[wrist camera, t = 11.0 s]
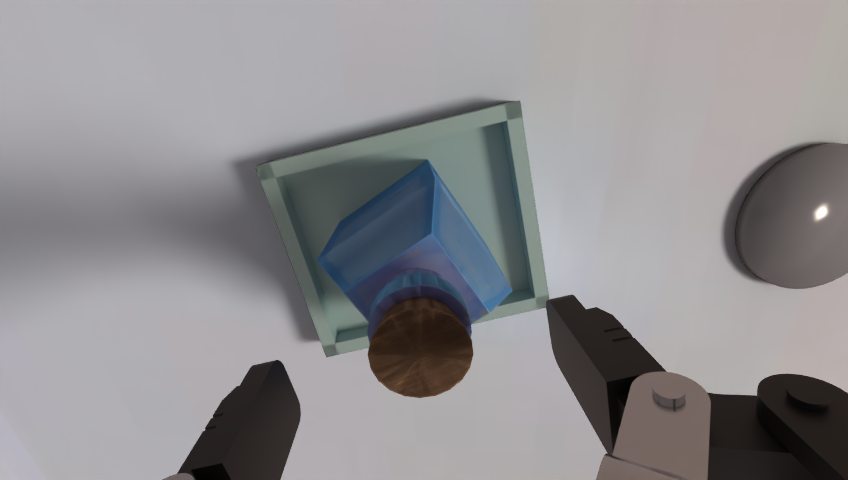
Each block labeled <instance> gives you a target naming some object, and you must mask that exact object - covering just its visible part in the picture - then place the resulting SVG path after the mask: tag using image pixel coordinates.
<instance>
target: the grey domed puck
mask: <svg viewBox="0 0 848 480" xmlns="http://www.w3.org/2000/svg"><path fill="white" fill-rule="evenodd" d="M735 236H736V246H737V251H738V253H739V256H740V258H741V260H742V262H743V263H744V265H745V266H746V267H747V268H748V269H749V270H750V271H751V272H752V273H753V274H754V275H756V276H758V277H760V278H761V279H763V280H765V281H767V282H770V283H772V284H774V285H777V286H780V287H784V288H791V289H803V288H811V287H816V286H819V285H823V284H826V283H828V282H831V281H833V280H835V279H837V278H839V277H841V276H843V275H845V274H846V273H848V144H839V143H824V144H818V145H813V146H810V147H807V148H803V149H801V150H799V151H796V152H794V153H792V154H790V155H789V156H787V157H785V158H783V159H782V160H781V161H779V162H778V163H776V164H775V165H774V166H773V167H771V168H770V169H769V170H768V171H767V172H766V173H765V174H764V175H763V176H762V177H761V178H760V179H759V180H758V181H757V183H756V184H755V185H754V186H753V188H752V189H751V191H750V192H749V194H748V195H747V197H746V199H745V201H744V203H743V205H742V207H741V210H740V213H739V215H738V220H737V224H736V233H735Z"/></svg>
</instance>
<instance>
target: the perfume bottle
mask: <svg viewBox="0 0 848 480" xmlns="http://www.w3.org/2000/svg"><path fill="white" fill-rule="evenodd" d="M317 263H318V264H319V265H320V266H321V267H322V268H323V270H324V271H325V272H326V273H327V274H328V276H329V277H330V278H331V279H332V280H333V281H334V283H335V284H336V285H337V286H338V287H339V288H340V290H341V291H342V292H343V293H344V294H345V295H346V297H347V298H348V299H349V300H350V301H351V302H352V304H353V305H354V306H355V307H356V308H357V309H358V311H359V312H360V313H361V314H362V315H363V316H364V318H365V319H366V320H367V321H368V322H369V324H368V330H367V335H368V339H369V344H370V345H369V351H368V358H369V362H370V367H371V370H372V371H373V373H374V374H375V376H376V378H377V379H378V381H379V382H381V383H382V384H383V385H384V386H386V387H387V388H388V389H389V390H391V391H393V392H396V393H398V394H401V395H403V396H409V397H417V398H422V397H429V396H436V395H438V394H441V393H443V392H445V391H448V390H450V389H451V388H452V387H454V386H455V385H456V384H457V383H459V382H460V381H461V380H462V379H463V377H464V376H465V374H466V373H467V371H468V370H469V368H470V365H471V361H472V357H473V348H472V340H471V338H470V337H471V333H472V331H471V324H473V323H475V322H476V321H478V320H479V319H481V318H483V317H484V316H486V315H488V314H489V313H490V312H491V311H492V310H493V309H494V308H496V307H497V306H498V305H499V304H500V303H501V302H502V301H503V300H504V299H505V298H506V297H507V296H508V295H509V294H510V293H511V292H512V291H513V290H512V289H511V287H510V285H509V283H508V282H507V280H506V278H505V276H504V275H503V273H502V271H501V269H500V268H499V266H498V264H497V262H496V261H495V259H494V257H493V255H492V254H491V252H490V250H489V248H488V247H487V245H486V243H485V242H484V241H483V239H482V238H481V236H480V235H479V233H478V232H477V230H476V229H475V227H474V226H473V224H472V223H471V222H470V220H469V219H468V217H467V216H466V214H465V213H464V211H463V210H462V208H461V207H460V205H459V204H458V203H457V201H456V200H455V198H454V197H453V195H452V194H451V192H450V191H449V189H448V188H447V186H446V185H445V184H444V182H443V181H442V179H441V178H440V176H439V175H438V173H437V172H436V170H435V169H434V167H433V166H432V165H431V163H430V162H429V160H426V161H425V162H423V163H422V164H421V165H419V166H418V167H416V168H415V169H414V170H412V171H411V172H409V173H408V174H406V175H405V176H404V177H402V178H401V179H399V180H398V181H397V182H395V183H394V184H392V185H391V186H390V187H388V188H387V189H385V190H384V191H382V192H381V193H380V194H378V195H377V196H375V197H374V198H373V199H371V200H370V201H368V202H367V203H366V204H364V205H363V206H361V207H360V208H358V209H357V210H356V211H354V212H353V213H351V214H350V215H349V216H347V217H346V218H344V219H343V220H341V221H340V222H339V224H338V226H337V227H336V229H335V231H334V232H333V234H332V236H331V237H330V239H329V241H328V242H327V244H326V246H325V247H324V249H323V251H322V252H321V254H320V256H319V258H318V259H317Z"/></svg>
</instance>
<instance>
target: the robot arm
mask: <svg viewBox="0 0 848 480" xmlns="http://www.w3.org/2000/svg"><path fill="white" fill-rule="evenodd" d="M546 309H547V316H548V323H549V330H550V337H551V344H552V349H553V353H554V356H555V359H556V362H557V364H558V366H559V368H560V370H561V372H562V373H563V375H564V377H565V379H566V380H567V382H568V384H569V386H570V387H571V389H572V391H573V393H574V395H575V396H576V398H577V400H578V402H579V403H580V405H581V407H582V409H583V410H584V412H585V414H586V416H587V418H588V419H589V421H590V423H591V425H592V426H593V428H594V430H595V432H596V433H597V435H598V437H599V439H600V441H601V442H602V444H603V446H604V448H605V449H606V451H607V453H608V454H605V455H604V457H603V459H602V461H601V465H600V468H599V471H598V475H597V478H596V480H848V393H846V392H845V391H843V390H842V389H840V388H838V387H836V386H834V385H832V384H830V383H827V382H825V381H822V380H819V379H816V378H812V377H808V376H803V375H796V374H778V375H772V376H769V377H767V378H765V379H763V380H762V381H761V382H760V383H759V385H758V390H757V396H752V395H723V394H713V393H707V392H706V391H705V389H704V388H703V387H702V386H700V385H699V384H698V383H696V382H695V381H693V380H691V379H689V378H687V377H685V376H682V375H679V374H675V373H670V372H666V371H665V370H664V368H663V367H662V366H661V365H660V364H659V363H658V362H657V361H656V360H655V359H654V358H653V357H652V356H651V355H650V354H649V353H648V352H647V351H646V350H645V349H644V347H643V346H642V345H641V344H640V343H639V342H638V341H637V340H636V339H635V338H633V337H632V335H631V334H630V333H629V332H628V331H627V330H626V329H624V327H623V325H622V324H621V323H620V322H619V321H618V320H617V319H616V318H615V317H614V316H613V315H611V314H609V313H607V312H605V311H603V310H601V309H599V308H597V307H595V308H591V309H585V308H584V307H583V305H582V304H581V303H580V302H579V301H578V300H577V298H576V297H575V296H574V295H568V296H563V297H559V298H554V299H550V300H547V301H546ZM300 416H301V411H300V404H299V400H298V398H297V395H296V393H295V391H294V388H293V386H292V384H291V381H290V379H289V377H288V374H287V372H286V370H285V367H284V365H283V364H282V362H281V361H279V360H275V361H271V362H266V363H262V364H257V365H253V366H252V367H251V368H250V369H249V371H248V373H247V374H246V376H245V378H244V379H243V381H242V383H241V385H240V386H237V387H236V388H235V389H234V390H233V391H232V392H231V393H230V394H228V395H227V396H226V397H225V398H224V399H223V400H222V402H221V403H220V405H219V407H218V408H217V410H216V411H215V413H214V415H213V418H211V419H210V421H209V423H208V424H207V426H206V428H205V429H206V430H205V431H203V432H202V434H201V436H200V437H199V439H198V441H197V442H196V444H195V445H194V447H193V449H192V450H191V452H190V453H189V455H188V457H187V458H186V460H185V462H184V463H183V465H182V466H181V468H180V470H179V471H178V473H177V474H175V475H172V476H169V477H167V478H165V479H163V480H280V479H281V476H282V473H283V470H284V467H285V464H286V461H287V458H288V455H289V452H290V449H291V446H292V443H293V440H294V437H295V434H296V431H297V428H298V425H299V422H300Z"/></svg>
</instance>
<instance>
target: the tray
mask: <svg viewBox="0 0 848 480" xmlns="http://www.w3.org/2000/svg"><path fill="white" fill-rule="evenodd" d="M426 160H429V162H430V163H431V165H432V166H433V167H434V169H435V170H436V172H437V173H438V175H439V176H440V178H441V179H442V181H443V182H444V184H445V185H446V186H447V188H448V189H449V191H450V192H451V194H452V195H453V197H454V198H455V200H456V201H457V203H458V204H459V205H460V207H461V208H462V210H463V211H464V213H465V214H466V216H467V217H468V219H469V220H470V222H471V223H472V224H473V226H474V227H475V229H476V230H477V232H478V233H479V235H480V236H481V238H482V239H483V241H484V242H485V243H486V245H487V247H488V248H489V250H490V252H491V254H492V255H493V257H494V259H495V261H496V262H497V264H498V266H499V268H500V269H501V271H502V273H503V275H504V276H505V278H506V280H507V282H508V283H509V285H510V287H511V289H512V290H513V291H512V292H511V293H510V294H509V295H508V296H507V297H506V298H505V299H504V300H503V301H502V302H501V303H500V304H499V305H498V306H497V307H496V308H494V309H493V310H492V311H491V312H490V313H489V314H488V315H486V316H484V317H483V318H481V319H479V320H478V321H476V322H475V323H480V322H484V321H488V320H493V319H497V318H502V317H506V316H510V315H515V314H519V313H524V312H528V311H532V310H537V309H541V308H546V301H547V300H549V294H548V287H547V280H546V273H545V266H544V260H543V253H542V246H541V239H540V232H539V226H538V219H537V212H536V205H535V199H534V192H533V185H532V178H531V171H530V165H529V158H528V151H527V144H526V138H525V131H524V124H523V117H522V110H521V104H520V101H510V102H506V103H502V104H498V105H494V106H490V107H486V108H482V109H478V110H474V111H470V112H466V113H462V114H457V115H453V116H449V117H445V118H441V119H437V120H433V121H429V122H425V123H421V124H417V125H413V126H409V127H405V128H401V129H397V130H393V131H389V132H385V133H381V134H377V135H373V136H369V137H365V138H361V139H357V140H353V141H349V142H344V143H340V144H336V145H332V146H328V147H324V148H320V149H316V150H312V151H308V152H304V153H300V154H296V155H292V156H288V157H284V158H280V159H276V160H272V161H268V162H265V163H262V164H260V165H257V166H255V168H256V170H257V173H258V176H259V178H260V181H261V184H262V186H263V189H264V192H265V194H266V197H267V200H268V202H269V205H270V208H271V210H272V213H273V216H274V219H275V221H276V224H277V227H278V229H279V232H280V235H281V237H282V240H283V243H284V245H285V248H286V251H287V253H288V256H289V259H290V261H291V264H292V267H293V269H294V272H295V275H296V277H297V280H298V283H299V285H300V288H301V291H302V293H303V296H304V299H305V301H306V304H307V307H308V309H309V312H310V315H311V317H312V320H313V323H314V326H315V328H316V331H317V334H318V336H319V339H320V342H321V344H322V347H323V350H324V352H325V355H326V357H330V356H334V355H339V354H343V353H347V352H352V351H356V350H361V349H365V348H369V345H370V344H369V339H368V335H367V330H368V324H369V322H368V321H367V320H366V319H365V318H364V316H363V315H362V314H361V313H360V312H359V311H358V309H357V308H356V307H355V306H354V305H353V304H352V302H351V301H350V300H349V299H348V298H347V297H346V295H345V294H344V293H343V292H342V291H341V290H340V288H339V287H338V286H337V285H336V284H335V283H334V281H333V280H332V279H331V278H330V277H329V276H328V274H327V273H326V272H325V271H324V270H323V268H322V267H321V266H320V265H319V264H318V263H317V259H318V258H319V256H320V254H321V252H322V251H323V249H324V247H325V246H326V244H327V242H328V241H329V239H330V237H331V236H332V234H333V232H334V231H335V229H336V227H337V226H338V224H339V222H340V221H341V220H343V219H344V218H346V217H347V216H349V215H350V214H351V213H353V212H354V211H356V210H357V209H358V208H360V207H361V206H363V205H364V204H366V203H367V202H368V201H370V200H371V199H373V198H374V197H375V196H377V195H378V194H380V193H381V192H382V191H384V190H385V189H387V188H388V187H390V186H391V185H392V184H394V183H395V182H397V181H398V180H399V179H401V178H402V177H404V176H405V175H406V174H408V173H409V172H411V171H412V170H414V169H415V168H416V167H418V166H419V165H421V164H422V163H423V162H425V161H426ZM475 323H473V324H475Z"/></svg>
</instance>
